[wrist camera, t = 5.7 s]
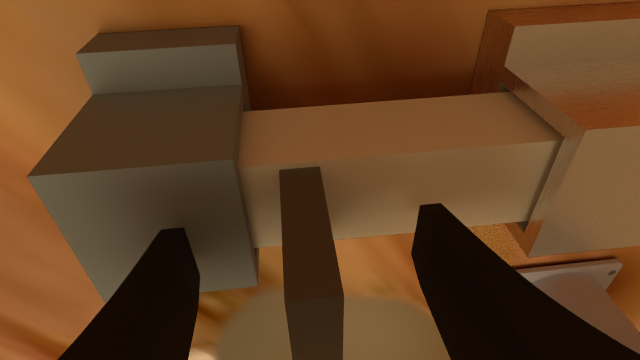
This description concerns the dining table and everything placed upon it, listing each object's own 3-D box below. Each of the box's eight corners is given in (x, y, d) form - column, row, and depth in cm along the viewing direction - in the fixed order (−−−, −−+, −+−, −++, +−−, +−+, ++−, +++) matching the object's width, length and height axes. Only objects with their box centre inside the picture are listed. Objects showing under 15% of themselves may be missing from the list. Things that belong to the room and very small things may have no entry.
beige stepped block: (706, -3, 15) (928, 57, 10) (616, 161, 20) (736, 257, 15) (488, 10, 15) (608, 81, 10) (450, 176, 20) (516, 282, 15)
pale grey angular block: (532, 88, 15) (732, 245, 8) (506, 164, 17) (650, 334, 10) (149, 116, 14) (50, 319, 7) (175, 193, 16) (115, 400, 9)
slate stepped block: (238, 25, 14) (223, 110, 9) (263, 193, 19) (263, 310, 14) (97, 33, 14) (-5, 126, 9) (160, 202, 19) (119, 326, 14)
